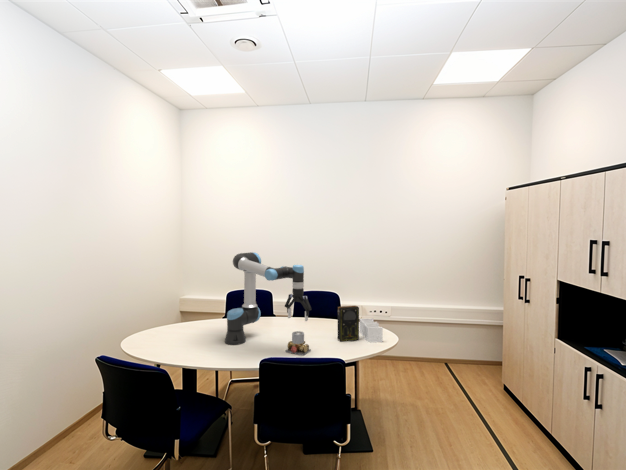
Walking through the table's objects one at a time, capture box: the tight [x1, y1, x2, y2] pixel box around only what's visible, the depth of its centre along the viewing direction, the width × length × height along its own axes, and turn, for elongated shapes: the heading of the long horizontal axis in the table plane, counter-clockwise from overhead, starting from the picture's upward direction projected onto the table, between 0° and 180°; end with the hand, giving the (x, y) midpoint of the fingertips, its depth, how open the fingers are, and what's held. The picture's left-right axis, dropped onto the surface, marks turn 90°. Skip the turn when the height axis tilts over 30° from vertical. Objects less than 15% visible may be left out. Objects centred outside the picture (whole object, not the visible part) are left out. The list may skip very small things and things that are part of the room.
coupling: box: [291, 330, 305, 344], centre depth 234 cm, size 8×8×6 cm
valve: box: [285, 331, 312, 357], centre depth 234 cm, size 14×11×12 cm
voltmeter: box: [337, 305, 360, 343], centre depth 258 cm, size 16×9×25 cm, turn 105°
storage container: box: [359, 318, 384, 343], centre depth 265 cm, size 25×11×11 cm, turn 6°
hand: (297, 319), depth 234 cm, fingers open, 13 cm apart
